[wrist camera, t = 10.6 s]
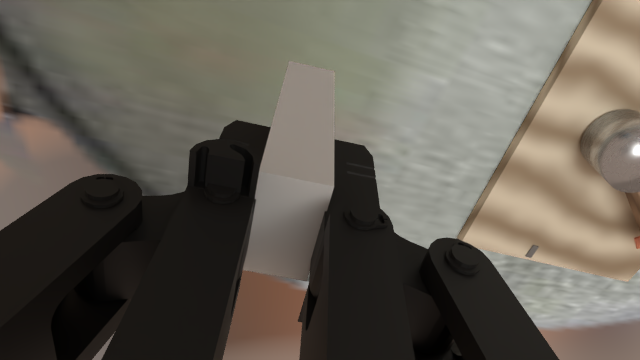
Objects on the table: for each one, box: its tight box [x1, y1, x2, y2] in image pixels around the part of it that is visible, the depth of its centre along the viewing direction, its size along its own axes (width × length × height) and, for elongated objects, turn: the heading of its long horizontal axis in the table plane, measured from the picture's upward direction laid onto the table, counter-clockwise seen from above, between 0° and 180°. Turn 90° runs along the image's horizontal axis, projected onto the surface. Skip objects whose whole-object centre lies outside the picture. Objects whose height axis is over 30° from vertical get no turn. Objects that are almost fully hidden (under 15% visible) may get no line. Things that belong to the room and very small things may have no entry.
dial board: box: [458, 0, 640, 282], centre depth 50 cm, size 34×25×2 cm
